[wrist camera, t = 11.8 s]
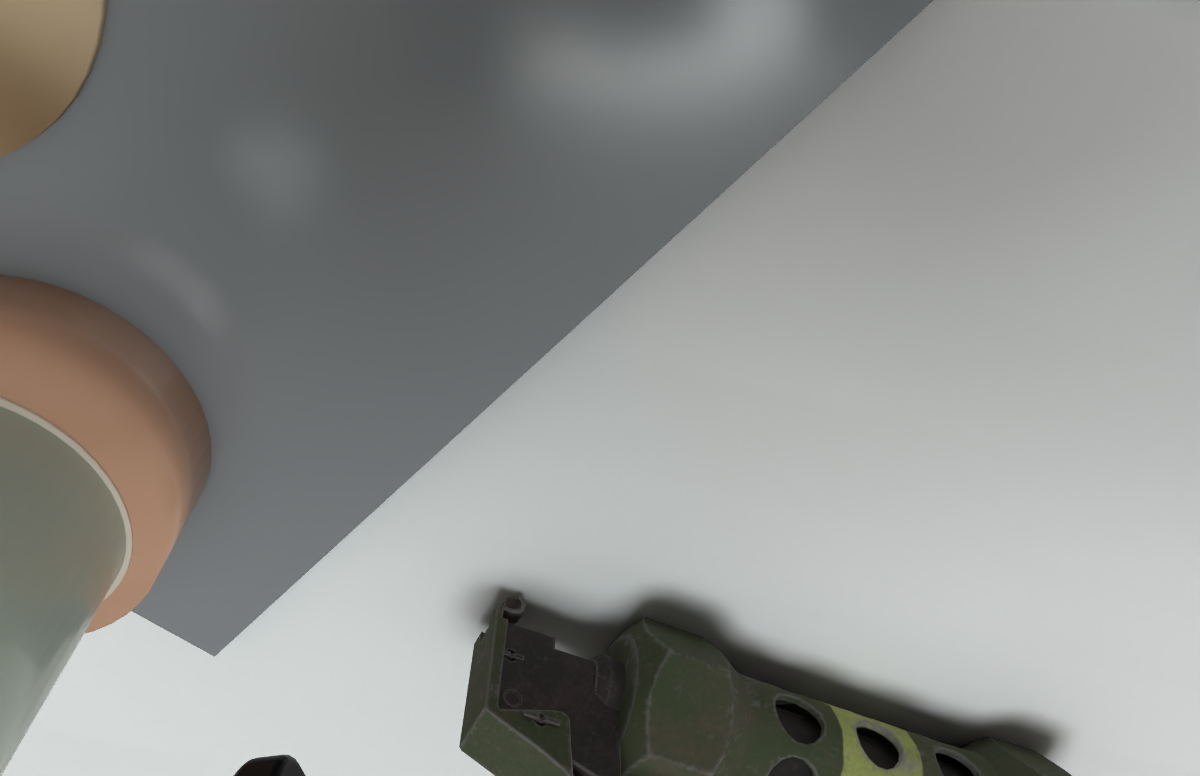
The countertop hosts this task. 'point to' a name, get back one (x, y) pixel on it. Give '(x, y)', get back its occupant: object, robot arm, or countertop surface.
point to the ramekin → (108, 418)
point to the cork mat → (44, 62)
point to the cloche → (47, 565)
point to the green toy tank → (681, 716)
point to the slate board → (386, 221)
